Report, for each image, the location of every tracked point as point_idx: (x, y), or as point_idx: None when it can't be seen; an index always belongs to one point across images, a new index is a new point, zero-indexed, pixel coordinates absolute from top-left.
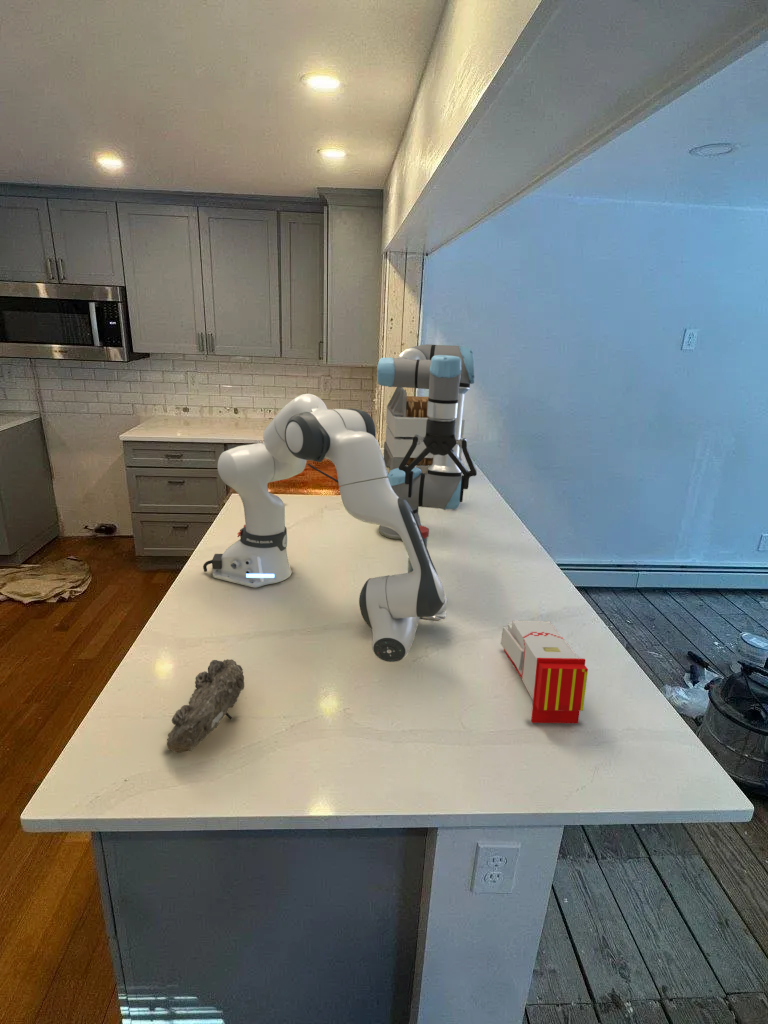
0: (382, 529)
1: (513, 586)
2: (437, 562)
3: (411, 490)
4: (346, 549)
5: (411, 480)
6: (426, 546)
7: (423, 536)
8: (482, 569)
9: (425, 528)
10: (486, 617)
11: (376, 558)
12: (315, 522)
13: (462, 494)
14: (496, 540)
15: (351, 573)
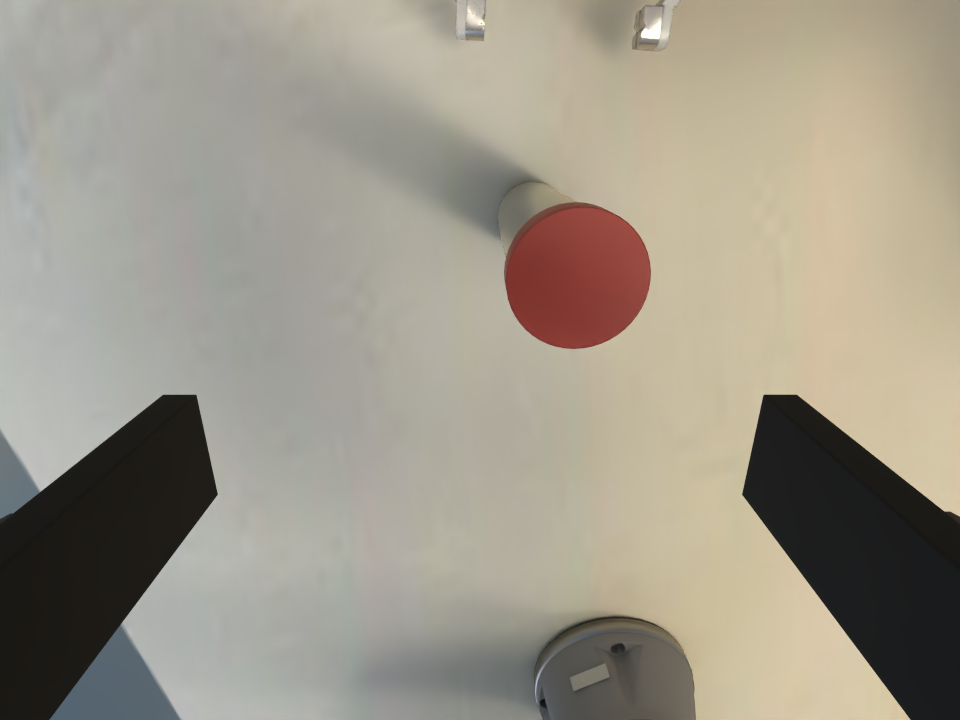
0: (683, 660)
1: (165, 360)
2: (462, 484)
3: (802, 458)
4: None
5: (930, 532)
6: (509, 244)
7: (539, 216)
8: (294, 466)
9: (533, 303)
10: (228, 71)
11: (692, 468)
12: None
13: (111, 439)
14: (273, 680)
15: (789, 328)
